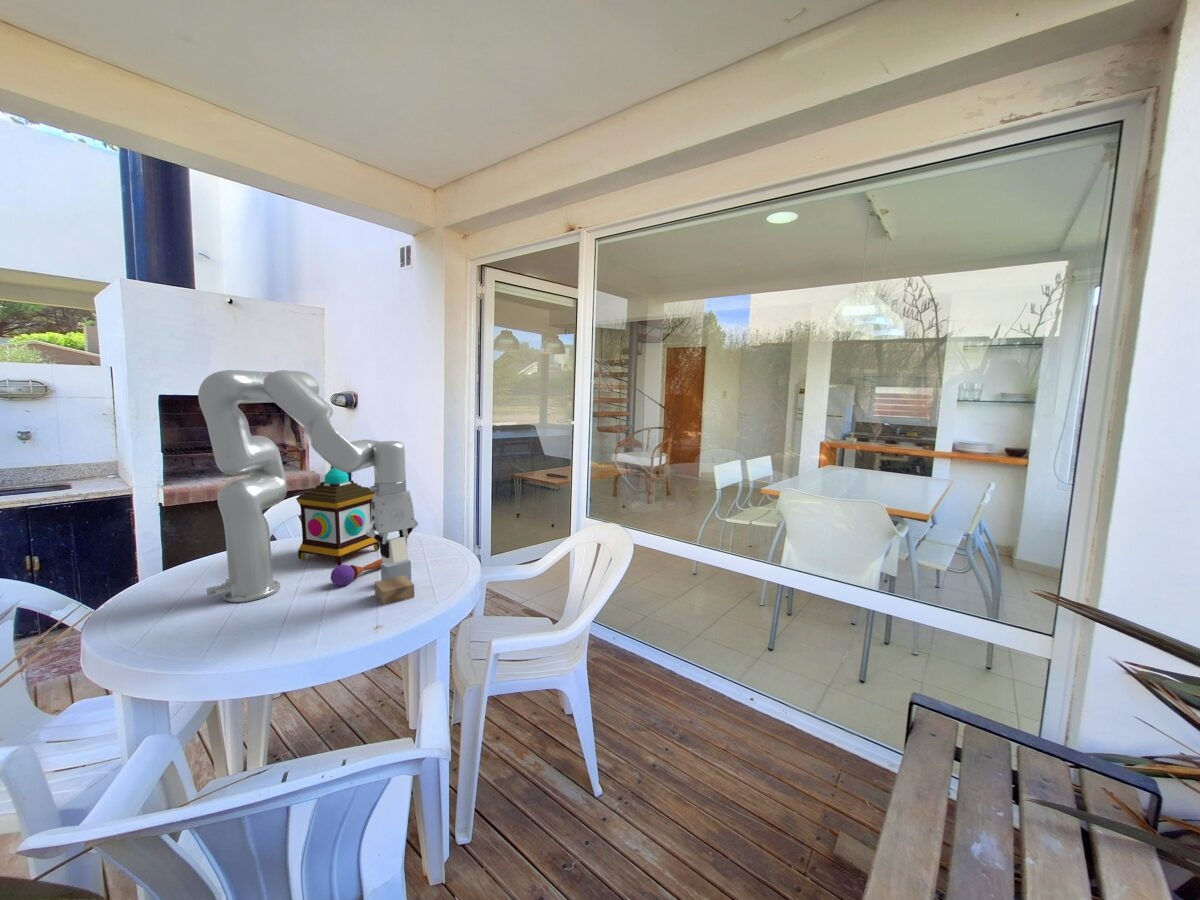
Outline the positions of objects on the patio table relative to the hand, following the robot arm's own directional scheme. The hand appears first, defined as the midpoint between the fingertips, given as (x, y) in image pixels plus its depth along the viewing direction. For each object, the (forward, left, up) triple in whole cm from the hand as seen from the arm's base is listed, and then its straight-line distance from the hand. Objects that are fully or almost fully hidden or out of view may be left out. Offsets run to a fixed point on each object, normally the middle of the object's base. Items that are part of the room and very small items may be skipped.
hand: (394, 553), depth 127 cm
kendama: (0, +21, -12) cm, 24 cm away
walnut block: (0, 0, -12) cm, 12 cm away
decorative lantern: (+3, +44, -12) cm, 46 cm away
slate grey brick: (+5, +9, -12) cm, 16 cm away
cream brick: (0, -1, -2) cm, 2 cm away
